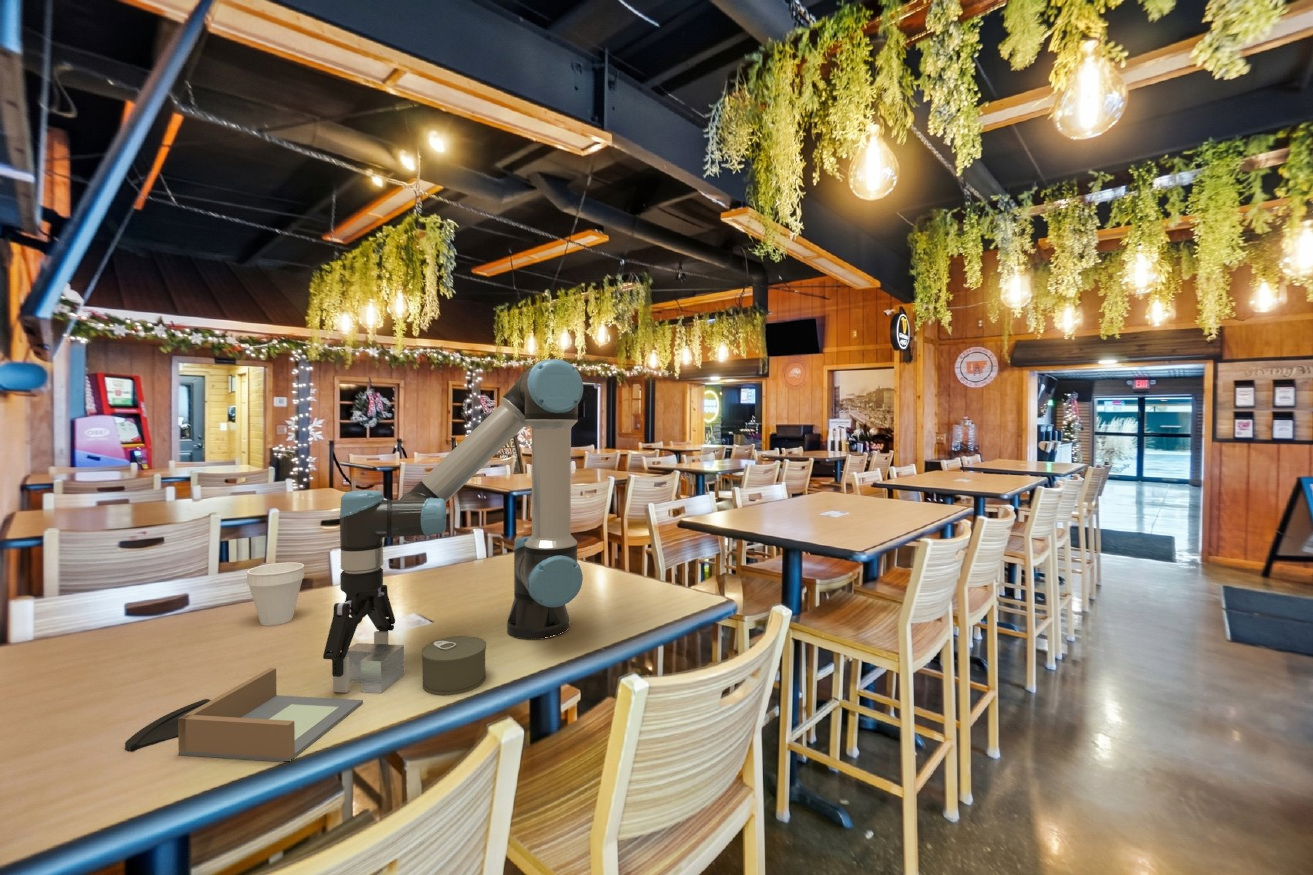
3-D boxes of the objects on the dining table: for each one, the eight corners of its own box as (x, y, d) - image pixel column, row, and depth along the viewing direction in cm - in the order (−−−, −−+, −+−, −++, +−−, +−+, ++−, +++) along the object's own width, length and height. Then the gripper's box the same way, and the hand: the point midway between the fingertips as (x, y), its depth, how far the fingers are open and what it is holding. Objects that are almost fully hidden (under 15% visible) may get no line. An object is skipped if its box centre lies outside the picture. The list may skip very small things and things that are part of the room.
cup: (235, 625, 141) (234, 571, 141) (284, 610, 153) (283, 560, 153) (268, 632, 137) (267, 576, 137) (316, 616, 148) (315, 564, 148)
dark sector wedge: (108, 746, 89) (108, 736, 89) (205, 707, 102) (205, 698, 102) (137, 758, 86) (137, 748, 86) (234, 716, 98) (234, 707, 98)
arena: (362, 703, 102) (362, 672, 102) (288, 762, 84) (288, 725, 84) (270, 698, 104) (270, 668, 104) (178, 755, 86) (178, 718, 86)
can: (449, 702, 103) (449, 665, 103) (408, 686, 109) (407, 651, 109) (499, 677, 113) (499, 643, 113) (459, 664, 119) (458, 631, 119)
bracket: (404, 674, 114) (404, 645, 114) (381, 693, 106) (381, 661, 106) (357, 672, 115) (357, 643, 115) (331, 690, 107) (330, 659, 107)
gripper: (379, 554, 125) (380, 651, 125) (299, 585, 101) (300, 705, 101) (412, 555, 124) (412, 652, 125) (339, 587, 100) (340, 707, 100)
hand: (362, 676), depth 113 cm, fingers open, 12 cm apart
